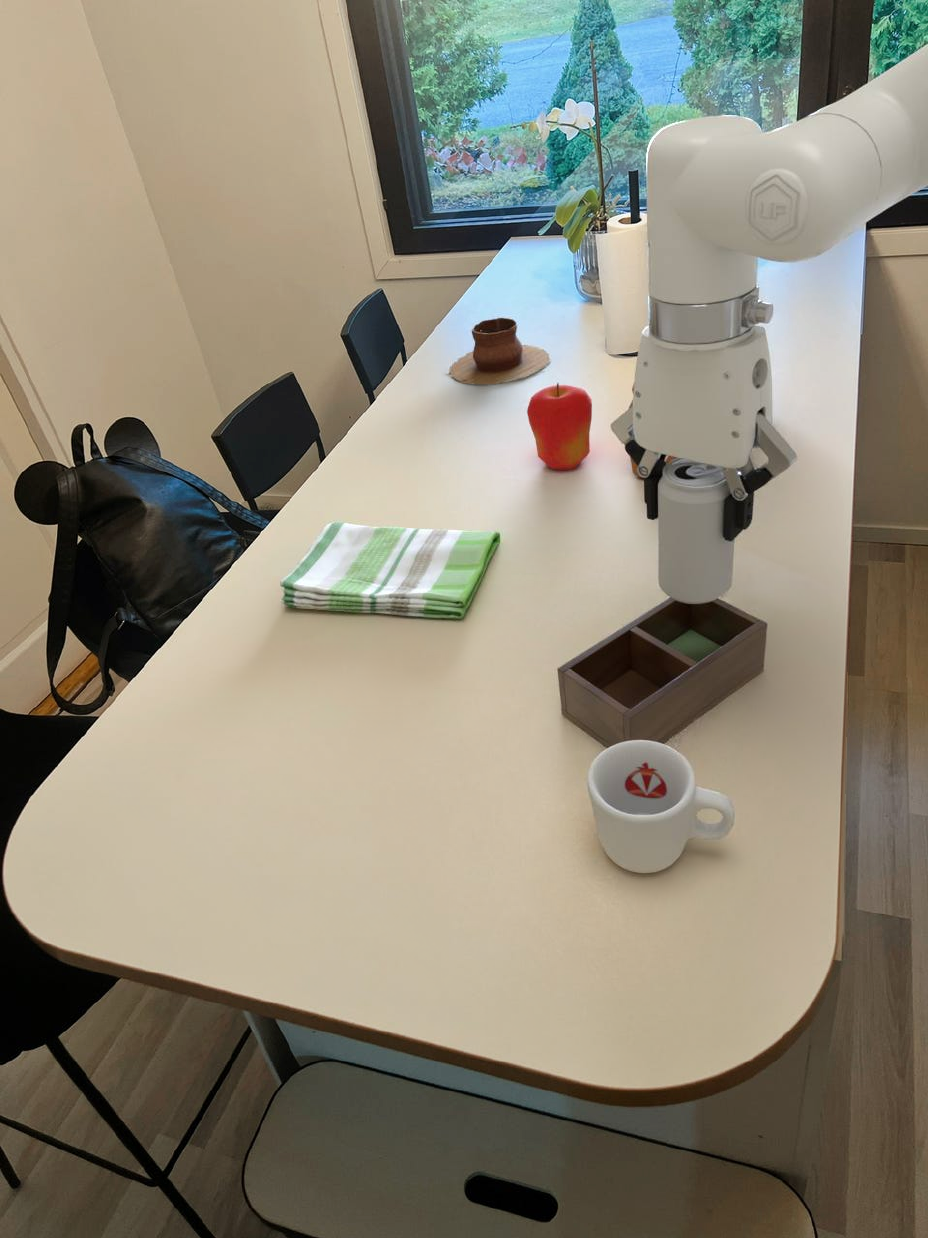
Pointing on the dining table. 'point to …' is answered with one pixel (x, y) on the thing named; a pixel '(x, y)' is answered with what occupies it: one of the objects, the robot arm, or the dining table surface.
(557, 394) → the apple
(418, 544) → the dish towel
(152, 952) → the dining table surface
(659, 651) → the wooden compartment box
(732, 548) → the beverage can
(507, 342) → the ceramic pot
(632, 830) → the cup
